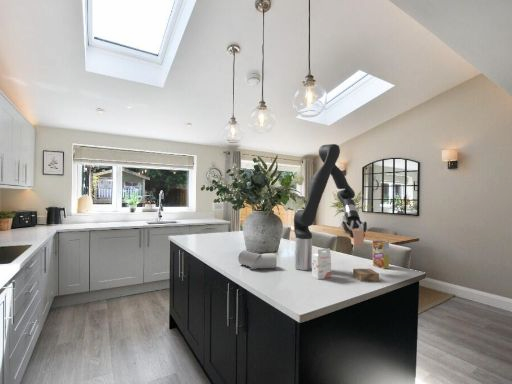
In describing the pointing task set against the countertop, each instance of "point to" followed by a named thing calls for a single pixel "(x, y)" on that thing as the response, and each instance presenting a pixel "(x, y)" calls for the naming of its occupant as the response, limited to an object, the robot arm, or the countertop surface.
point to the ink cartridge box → (321, 264)
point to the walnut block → (365, 275)
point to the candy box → (381, 254)
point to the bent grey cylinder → (257, 260)
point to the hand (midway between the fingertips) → (357, 237)
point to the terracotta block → (358, 237)
